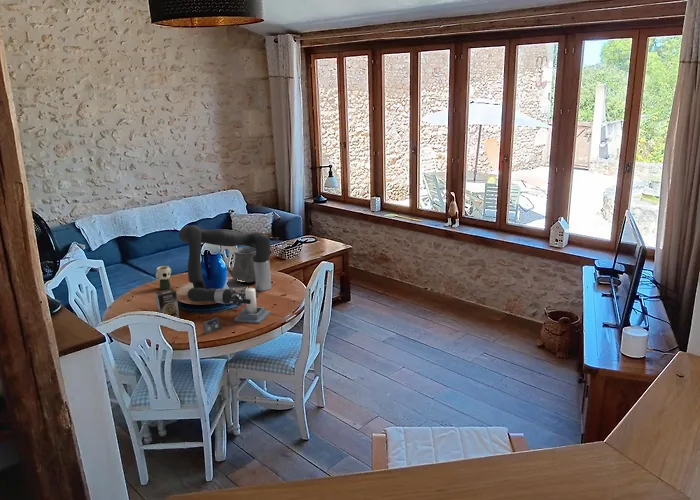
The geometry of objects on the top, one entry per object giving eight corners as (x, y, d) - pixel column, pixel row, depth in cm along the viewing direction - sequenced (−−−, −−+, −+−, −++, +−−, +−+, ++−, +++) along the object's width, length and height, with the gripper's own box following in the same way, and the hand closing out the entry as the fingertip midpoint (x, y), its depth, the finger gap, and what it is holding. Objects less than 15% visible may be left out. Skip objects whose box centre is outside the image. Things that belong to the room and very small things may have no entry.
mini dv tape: (219, 328, 269) (217, 316, 267) (220, 329, 268) (219, 317, 266) (204, 333, 263) (202, 321, 262) (205, 334, 262) (204, 322, 261)
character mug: (162, 292, 319) (159, 271, 315) (154, 290, 322) (151, 269, 319) (176, 286, 328) (174, 265, 324) (168, 284, 331) (166, 264, 328)
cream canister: (250, 312, 283) (247, 287, 279) (258, 313, 282) (256, 288, 278) (245, 316, 279) (243, 291, 275) (254, 317, 278) (252, 291, 274)
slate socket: (246, 310, 289) (245, 304, 288) (270, 312, 285) (270, 306, 284) (234, 321, 276) (233, 314, 275) (259, 323, 273) (259, 317, 272)
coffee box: (162, 325, 273) (158, 295, 269) (158, 321, 278) (154, 291, 274) (180, 320, 279) (176, 291, 274) (175, 316, 284) (172, 287, 279)
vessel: (273, 275, 343) (271, 244, 337) (257, 287, 322) (254, 255, 317) (242, 272, 349) (239, 242, 343) (224, 284, 329) (221, 252, 323)
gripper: (217, 294, 274) (247, 296, 270) (231, 284, 287) (259, 286, 283) (219, 308, 276) (248, 310, 272) (232, 298, 289) (260, 300, 285)
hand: (254, 298), depth 278 cm, fingers open, 8 cm apart
